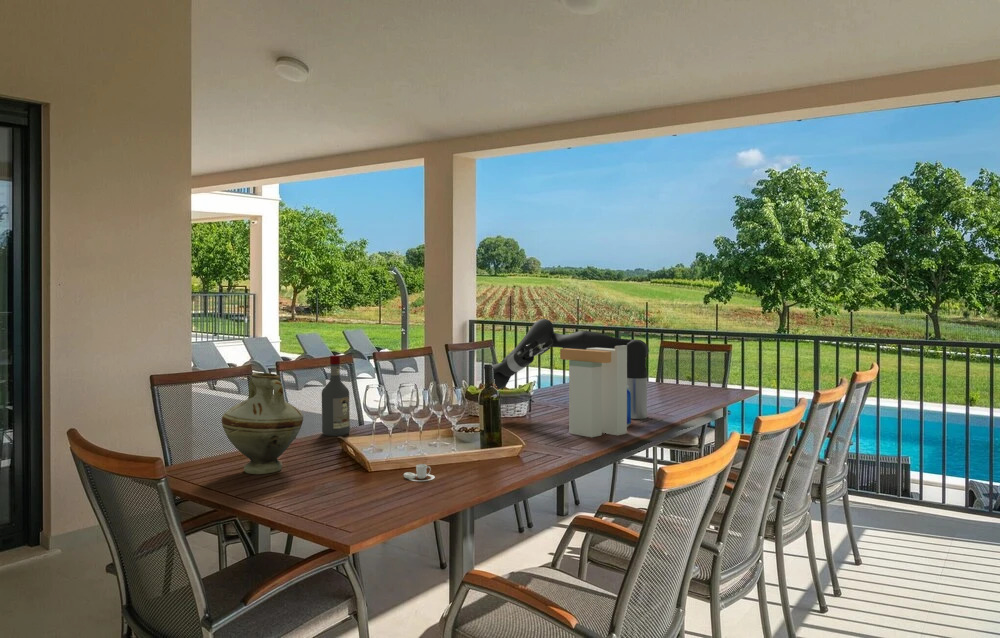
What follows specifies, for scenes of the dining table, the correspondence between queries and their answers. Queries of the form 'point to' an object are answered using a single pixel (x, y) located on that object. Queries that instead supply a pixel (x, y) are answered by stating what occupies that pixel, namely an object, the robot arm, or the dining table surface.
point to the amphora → (263, 424)
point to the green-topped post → (585, 398)
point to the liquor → (335, 403)
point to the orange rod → (585, 355)
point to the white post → (614, 391)
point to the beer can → (628, 406)
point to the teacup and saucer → (419, 473)
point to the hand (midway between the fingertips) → (545, 341)
